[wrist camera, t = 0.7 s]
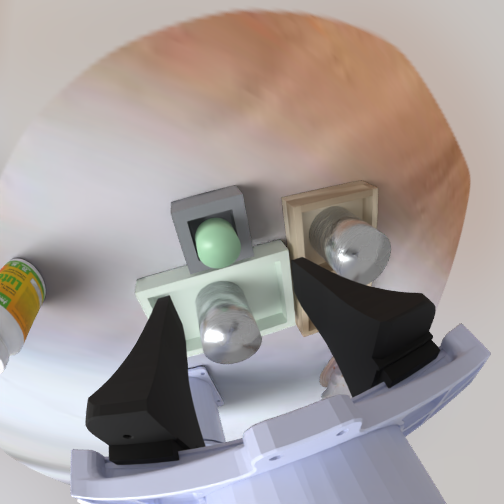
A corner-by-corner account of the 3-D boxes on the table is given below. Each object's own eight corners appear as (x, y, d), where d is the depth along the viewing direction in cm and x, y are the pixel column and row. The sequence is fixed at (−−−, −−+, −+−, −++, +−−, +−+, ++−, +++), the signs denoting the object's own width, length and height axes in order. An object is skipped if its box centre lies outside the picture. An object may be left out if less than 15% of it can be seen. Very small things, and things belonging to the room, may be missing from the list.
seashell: (308, 391, 38) (332, 438, 30) (317, 343, 32) (351, 399, 24) (362, 371, 40) (389, 411, 32) (380, 321, 34) (418, 366, 26)
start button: (237, 248, 20) (244, 261, 18) (200, 258, 19) (203, 273, 18) (230, 213, 18) (236, 223, 17) (190, 223, 18) (192, 236, 16)
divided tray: (356, 298, 30) (367, 311, 28) (294, 321, 29) (303, 337, 27) (361, 180, 23) (378, 187, 21) (281, 197, 22) (293, 207, 20)
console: (246, 242, 23) (254, 256, 21) (188, 258, 22) (190, 274, 20) (235, 185, 20) (242, 193, 18) (171, 202, 20) (170, 213, 17)
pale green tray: (288, 312, 28) (295, 325, 26) (171, 346, 26) (172, 361, 24) (279, 239, 24) (288, 249, 22) (136, 279, 22) (134, 293, 20)
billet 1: (248, 312, 26) (265, 354, 21) (203, 325, 25) (211, 369, 21) (239, 274, 24) (257, 315, 19) (188, 289, 23) (194, 333, 18)
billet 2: (352, 246, 25) (387, 276, 20) (310, 259, 24) (340, 294, 20) (352, 201, 23) (393, 225, 18) (306, 212, 22) (342, 241, 17)
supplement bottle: (38, 255, 18) (-10, 330, 10) (53, 305, 20) (23, 384, 12) (-2, 257, 17) (-52, 323, 8) (14, 303, 19) (-21, 374, 11)
